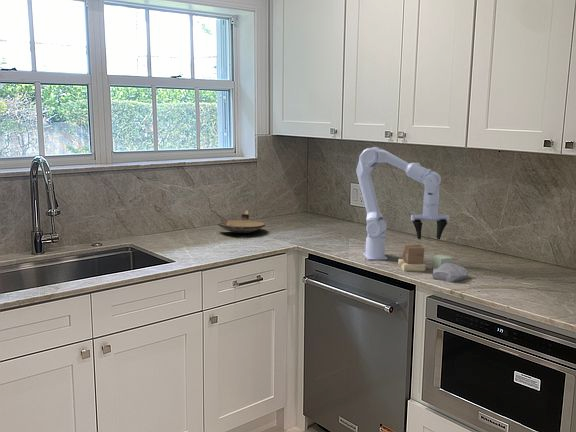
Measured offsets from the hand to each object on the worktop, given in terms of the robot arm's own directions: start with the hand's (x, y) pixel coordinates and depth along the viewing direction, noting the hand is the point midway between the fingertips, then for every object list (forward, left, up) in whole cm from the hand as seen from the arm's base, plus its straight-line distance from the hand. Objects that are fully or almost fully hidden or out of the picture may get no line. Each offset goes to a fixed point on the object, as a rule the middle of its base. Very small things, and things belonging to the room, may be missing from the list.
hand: (428, 238), depth 218 cm
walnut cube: (+6, -8, -7) cm, 12 cm away
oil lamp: (-61, -70, -10) cm, 93 cm away
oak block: (+6, -8, -10) cm, 14 cm away
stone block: (+19, +2, -10) cm, 21 cm away
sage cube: (+8, +3, -10) cm, 13 cm away
